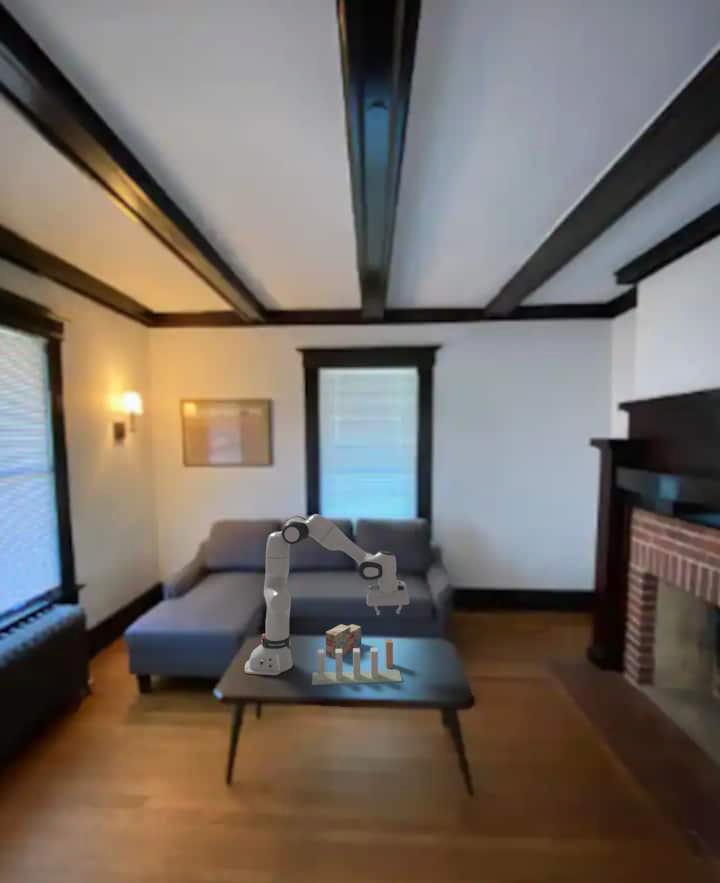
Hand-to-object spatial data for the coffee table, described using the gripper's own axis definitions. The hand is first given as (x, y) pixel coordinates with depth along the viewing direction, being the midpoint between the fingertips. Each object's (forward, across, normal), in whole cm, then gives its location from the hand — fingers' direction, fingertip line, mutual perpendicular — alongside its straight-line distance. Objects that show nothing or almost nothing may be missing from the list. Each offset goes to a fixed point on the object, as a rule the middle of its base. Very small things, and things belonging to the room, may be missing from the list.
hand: (388, 614), depth 226 cm
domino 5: (+25, 0, 0) cm, 25 cm away
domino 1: (+23, -32, -11) cm, 41 cm away
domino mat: (+24, -16, -10) cm, 31 cm away
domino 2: (+24, -24, -11) cm, 35 cm away
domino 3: (+24, -16, -10) cm, 30 cm away
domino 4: (+24, -8, -10) cm, 27 cm away
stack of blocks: (+25, -21, +18) cm, 37 cm away
